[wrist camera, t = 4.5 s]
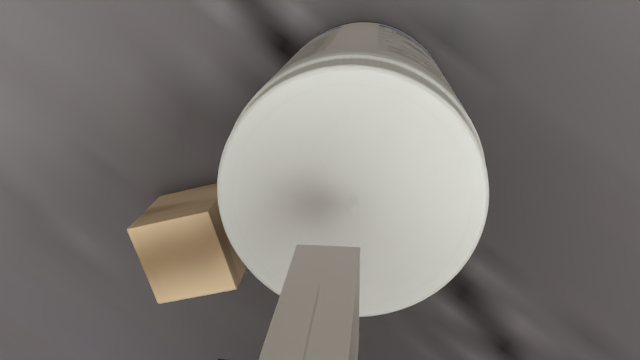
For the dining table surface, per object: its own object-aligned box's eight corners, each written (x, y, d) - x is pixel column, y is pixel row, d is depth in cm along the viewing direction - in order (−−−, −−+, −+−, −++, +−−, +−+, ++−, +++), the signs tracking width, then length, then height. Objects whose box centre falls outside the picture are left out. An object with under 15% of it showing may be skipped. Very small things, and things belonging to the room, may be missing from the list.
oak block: (255, 248, 37) (236, 289, 32) (186, 262, 38) (158, 303, 33) (231, 179, 35) (207, 211, 30) (160, 195, 36) (126, 229, 31)
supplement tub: (294, 187, 35) (233, 330, 21) (269, 31, 31) (176, 81, 18) (453, 173, 33) (498, 318, 19) (444, 8, 30) (489, 42, 16)
